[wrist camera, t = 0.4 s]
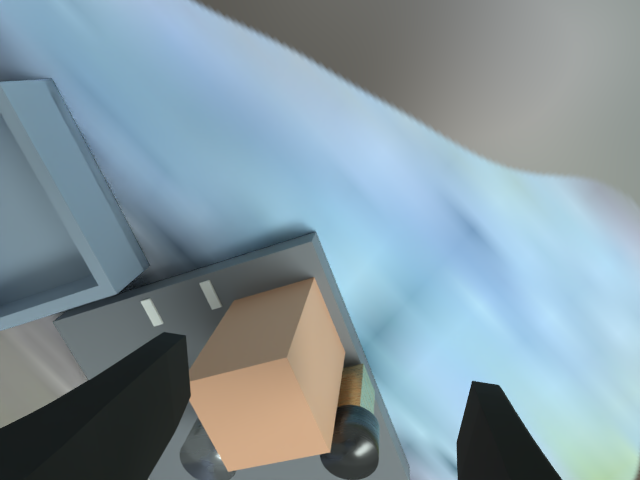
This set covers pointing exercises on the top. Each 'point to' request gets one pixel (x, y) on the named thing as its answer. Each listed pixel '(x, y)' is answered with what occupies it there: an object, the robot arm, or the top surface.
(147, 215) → the top surface
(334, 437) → the crank
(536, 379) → the top surface
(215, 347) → the block
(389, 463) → the plate
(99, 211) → the tray
